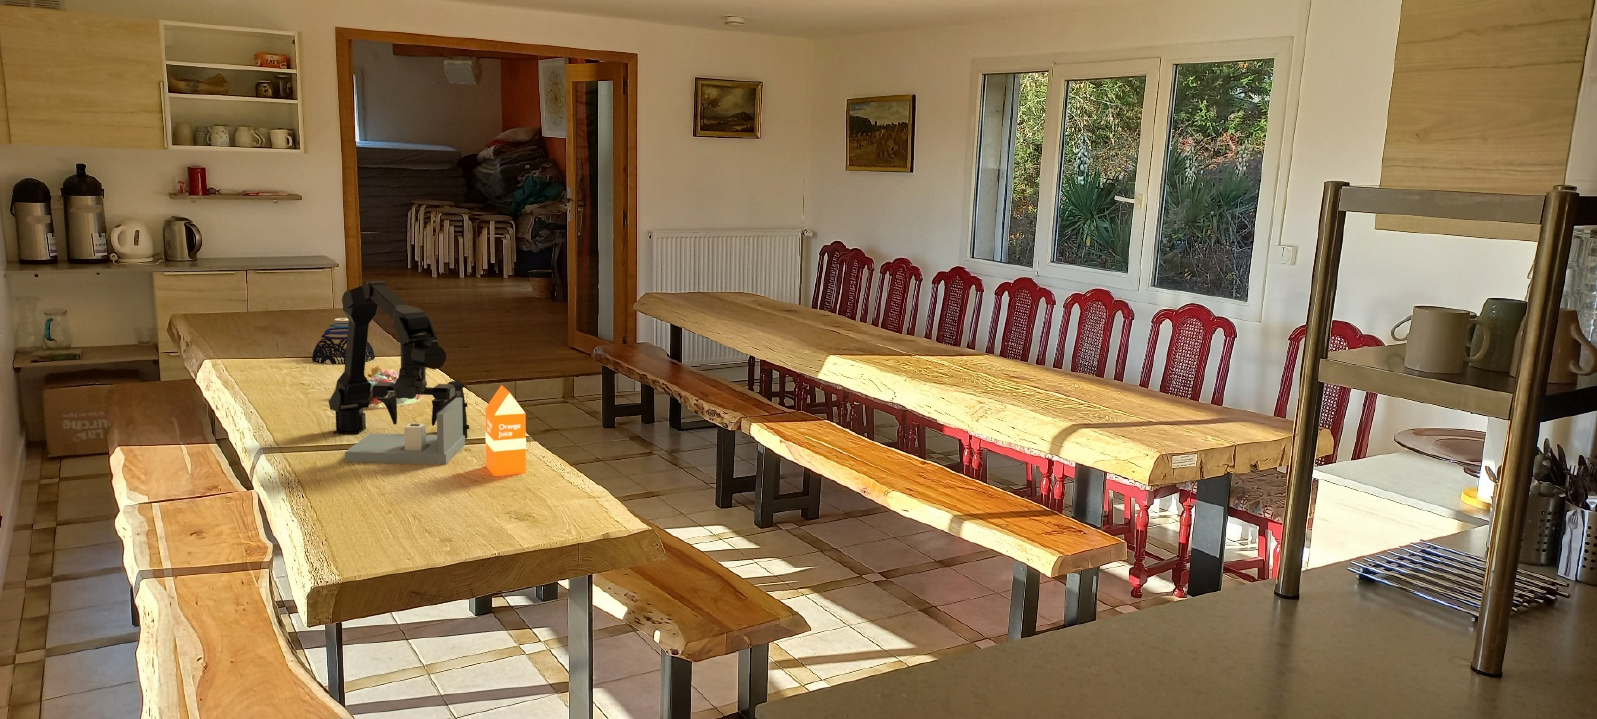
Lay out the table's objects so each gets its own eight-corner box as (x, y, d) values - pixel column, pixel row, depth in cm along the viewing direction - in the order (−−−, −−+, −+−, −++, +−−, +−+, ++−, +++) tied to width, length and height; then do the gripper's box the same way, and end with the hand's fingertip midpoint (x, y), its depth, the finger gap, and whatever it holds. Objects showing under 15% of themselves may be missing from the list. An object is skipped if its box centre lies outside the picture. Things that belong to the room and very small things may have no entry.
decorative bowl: (300, 362, 383) (298, 321, 380) (333, 352, 403) (331, 313, 400) (354, 366, 380) (352, 325, 377) (384, 356, 399) (383, 316, 397)
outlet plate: (345, 461, 268) (343, 411, 266) (370, 442, 286) (369, 395, 283) (446, 464, 269) (445, 414, 267) (465, 444, 287) (464, 397, 284)
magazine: (460, 436, 288) (449, 381, 291) (443, 447, 298) (432, 393, 301) (474, 434, 291) (463, 379, 293) (456, 445, 301) (446, 392, 303)
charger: (405, 458, 272) (404, 426, 271) (409, 454, 276) (409, 422, 275) (421, 459, 273) (420, 426, 271) (426, 454, 277) (425, 422, 275)
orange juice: (493, 476, 261) (492, 393, 258) (485, 466, 269) (484, 385, 265) (526, 472, 265) (526, 390, 261) (518, 463, 272) (517, 383, 269)
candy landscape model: (319, 402, 328) (318, 372, 326) (377, 388, 349) (376, 359, 347) (386, 413, 319) (385, 381, 317) (441, 397, 340) (440, 368, 338)
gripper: (362, 367, 262) (364, 431, 265) (442, 370, 263) (443, 434, 265) (378, 358, 273) (379, 420, 276) (455, 361, 274) (455, 423, 276)
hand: (414, 424), depth 273 cm, fingers open, 9 cm apart
